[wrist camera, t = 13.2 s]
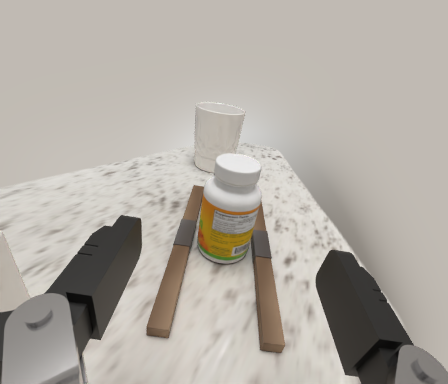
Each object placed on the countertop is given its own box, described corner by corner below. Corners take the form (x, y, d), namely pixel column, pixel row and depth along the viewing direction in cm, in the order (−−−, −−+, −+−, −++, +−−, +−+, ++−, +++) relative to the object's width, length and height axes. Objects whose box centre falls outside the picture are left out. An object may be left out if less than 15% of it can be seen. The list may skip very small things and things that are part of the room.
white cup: (222, 155, 47) (230, 103, 42) (242, 173, 42) (255, 115, 37) (184, 157, 44) (188, 100, 39) (201, 177, 38) (208, 113, 33)
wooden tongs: (145, 334, 16) (145, 325, 16) (192, 191, 34) (193, 184, 33) (281, 353, 17) (286, 344, 16) (259, 201, 34) (260, 194, 33)
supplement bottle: (202, 225, 28) (213, 146, 23) (248, 234, 27) (268, 156, 23) (191, 259, 23) (201, 168, 18) (245, 270, 23) (270, 182, 18)
